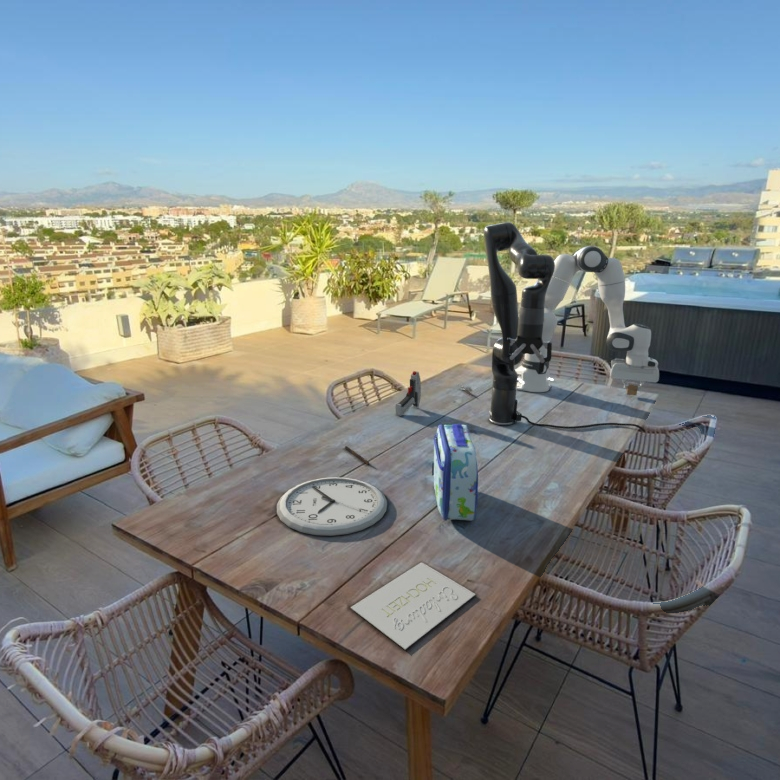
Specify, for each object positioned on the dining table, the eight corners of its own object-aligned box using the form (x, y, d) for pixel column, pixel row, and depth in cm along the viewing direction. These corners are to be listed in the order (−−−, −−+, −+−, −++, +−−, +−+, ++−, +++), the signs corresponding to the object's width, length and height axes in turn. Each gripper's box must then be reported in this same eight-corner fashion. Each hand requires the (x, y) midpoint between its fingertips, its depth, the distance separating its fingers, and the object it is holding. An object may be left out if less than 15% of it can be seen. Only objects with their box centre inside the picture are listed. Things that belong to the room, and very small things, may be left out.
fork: (470, 397, 235) (470, 393, 235) (457, 387, 250) (457, 383, 249) (475, 396, 236) (476, 392, 236) (462, 386, 251) (462, 382, 250)
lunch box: (430, 480, 157) (433, 415, 151) (465, 481, 157) (470, 415, 151) (436, 527, 133) (440, 452, 126) (478, 528, 133) (484, 453, 126)
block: (626, 391, 243) (627, 381, 242) (635, 392, 242) (637, 382, 241) (626, 394, 239) (628, 384, 238) (636, 395, 238) (638, 385, 236)
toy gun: (394, 379, 206) (416, 369, 217) (395, 417, 212) (416, 405, 223) (399, 380, 205) (420, 370, 216) (400, 418, 211) (421, 406, 222)
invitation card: (421, 561, 119) (475, 593, 109) (421, 562, 119) (475, 594, 109) (350, 606, 104) (405, 648, 94) (350, 608, 104) (405, 649, 94)
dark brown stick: (344, 448, 179) (344, 445, 179) (346, 448, 179) (346, 445, 179) (367, 464, 167) (367, 462, 167) (368, 464, 167) (368, 461, 167)
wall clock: (392, 527, 129) (268, 531, 127) (391, 533, 130) (269, 537, 127) (383, 473, 158) (282, 475, 155) (383, 478, 158) (282, 480, 156)
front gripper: (505, 321, 160) (501, 372, 165) (554, 325, 155) (548, 377, 160) (509, 318, 167) (505, 367, 172) (555, 321, 162) (550, 371, 167)
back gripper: (612, 359, 236) (607, 388, 241) (662, 363, 230) (656, 393, 234) (611, 356, 242) (607, 385, 246) (660, 360, 236) (655, 390, 240)
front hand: (526, 372), depth 166 cm, fingers open, 8 cm apart
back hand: (631, 389), depth 240 cm, fingers closed on block, 4 cm apart
